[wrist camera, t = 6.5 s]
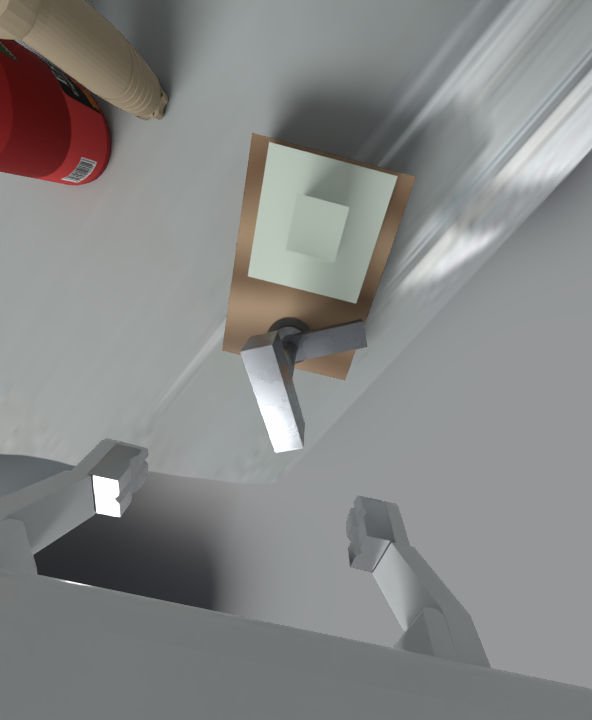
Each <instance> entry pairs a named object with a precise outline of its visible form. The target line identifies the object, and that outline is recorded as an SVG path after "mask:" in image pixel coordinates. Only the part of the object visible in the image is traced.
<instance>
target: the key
mask: <svg viewBox="0 0 592 720" xmlns="http://www.w3.org/2000/svg"><path fill="white" fill-rule="evenodd" d="M364 347H367V342H366V336H365V330H364V324H363V320H362V319H358V320H354V321H349V322H345V323H340V324H336V325H331V326H327V327H322V328H317V329H313V330H308V331H304V332H303V331H302V330H301V329H300V328H298V327H296V326H292V325H286V326H283V327H280V328H279V329H278V330H277V331H273V332H268V333H264V334H260V335H255V336H251V337H250V338H249V339H248V341H247V342H246V344H245V345H244V347H243V348H242V350H241V351H240V353H241V356H242V359H243V361H244V364H245V367H246V370H247V373H248V376H249V379H250V381H251V384H252V387H253V390H254V393H255V396H256V399H257V401H258V404H259V407H260V410H261V413H262V416H263V418H264V421H265V424H266V427H267V430H268V433H269V436H270V438H271V441H272V444H273V447H274V450H275V452H282V451H288V450H295V449H301V448H303V444H304V429H305V423H304V419H303V416H302V412H301V409H300V405H299V402H298V398H297V395H296V391H295V388H294V384H293V381H292V377H293V371H294V366H295V362H296V361H301V360H305V359H310V358H315V357H320V356H325V355H330V354H335V353H340V352H345V351H350V350H354V349H359V348H364Z"/></svg>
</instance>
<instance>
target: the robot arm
mask: <svg viewBox="0 0 592 720" xmlns="http://www.w3.org/2000/svg"><path fill="white" fill-rule="evenodd" d="M147 456H148V449H147V448H144V447H140V446H136V445H132V444H128V443H125V442H121V441H116V440H112V439H108V438H106V439H104V440H102V441H101V442H100V443H99V444H98V445H97V446H96V447H95V448H94V449H93V450H92V451H91V452H90V453H89V454H88V455H87V456H86V457H85V458H84V459H83V460H82V461H81V462H80V463H79V464H78V465H77V466H76V467H75V468H74V469H73V470H72V471H64V472H62V473H59V474H57V475H55V476H52V477H50V478H48V479H45V480H43V481H40V482H38V483H35V484H33V485H31V486H28V487H26V488H24V489H21V490H19V491H16V492H14V493H12V494H9V495H7V496H5V497H2V498H0V720H592V689H590V688H585V687H580V686H575V685H570V684H565V683H561V682H555V681H550V680H546V679H541V678H536V677H531V676H526V675H521V674H517V673H512V672H507V671H502V670H497V669H493V668H491V667H490V664H489V662H488V659H487V657H486V654H485V651H484V649H483V646H482V644H481V641H480V639H479V636H478V634H477V631H476V629H475V626H474V624H473V621H472V619H471V616H470V614H469V613H468V612H467V611H466V610H465V608H464V607H463V606H462V605H461V604H460V602H459V601H458V600H457V599H456V597H455V596H454V595H453V594H452V593H451V591H450V590H449V589H448V588H447V587H446V585H445V584H444V583H443V582H442V580H441V579H440V578H439V577H438V576H437V574H436V573H435V572H434V571H433V570H432V568H431V567H430V566H429V565H428V563H427V562H426V561H425V560H424V559H423V557H422V556H421V555H420V554H419V553H418V551H417V550H416V549H415V548H414V547H412V546H410V544H409V541H408V538H407V534H406V531H405V527H404V524H403V521H402V517H401V514H400V511H399V507H398V506H397V504H395V503H390V502H385V501H382V500H377V499H372V498H368V497H363V496H357V497H356V499H355V501H354V506H355V507H354V508H352V509H351V510H350V512H349V514H348V518H347V523H346V531H347V537H348V538H349V540H350V541H351V543H350V545H349V547H348V552H349V562H350V567H352V568H356V569H360V570H364V571H368V572H372V573H373V576H374V578H375V580H376V581H377V583H378V585H379V587H380V589H381V590H382V592H383V594H384V595H385V598H386V599H387V601H388V603H389V605H390V606H391V609H392V610H393V612H394V614H395V616H396V618H397V619H398V621H399V623H400V624H401V627H402V628H403V630H404V634H403V635H402V636H401V637H400V639H399V640H398V641H397V642H396V644H395V645H394V646H393V648H390V647H386V646H381V645H376V644H371V643H366V642H360V641H356V640H352V639H346V638H342V637H337V636H332V635H327V634H322V633H318V632H313V631H308V630H303V629H298V628H293V627H289V626H284V625H279V624H274V623H270V622H264V621H260V620H255V619H250V618H245V617H241V616H236V615H231V614H226V613H221V612H216V611H212V610H207V609H201V608H197V607H192V606H187V605H182V604H178V603H173V602H168V601H163V600H158V599H153V598H148V597H144V596H139V595H134V594H128V593H124V592H119V591H114V590H110V589H105V588H100V587H95V586H90V585H85V584H80V583H76V582H71V581H66V580H61V579H56V578H51V577H46V576H41V575H37V568H36V564H35V561H34V557H33V554H35V553H37V552H38V551H40V550H41V549H43V548H44V547H46V546H47V545H48V544H50V543H52V542H53V541H55V540H56V539H58V538H59V537H61V536H63V535H64V534H66V533H67V532H69V531H70V530H72V529H73V528H75V527H76V526H78V525H79V524H81V523H82V522H84V521H85V520H87V519H88V518H90V517H92V516H93V515H94V514H95V513H100V514H105V515H110V516H116V517H120V516H121V515H122V513H123V512H124V511H125V509H126V508H127V506H128V505H129V503H130V502H131V494H132V493H134V492H136V491H138V490H139V489H140V487H141V486H142V484H143V482H144V480H145V478H146V475H147V471H148V463H147V462H146V461H145V459H146V458H147Z"/></svg>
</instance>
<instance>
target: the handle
mask: <svg viewBox="0 0 592 720" xmlns="http://www.w3.org/2000/svg"><path fill="white" fill-rule="evenodd" d="M0 39H9V40H22V41H23V42H25V43H26V44H27V45H29V46H30V47H31V48H33V49H34V50H36V51H37V52H38V53H40V54H41V55H42V56H44V57H45V58H47V59H48V60H49V61H51V62H52V63H53V64H55V65H56V66H58V67H59V68H60V69H62V70H63V71H64V72H66V73H67V74H68V75H70V76H71V77H72V78H74V79H75V80H77V81H78V82H79V83H81V84H82V85H83V86H85V87H86V88H87V89H89V90H90V91H91V92H93V93H94V94H96V95H98V96H99V97H101V98H103V99H104V100H106V101H107V102H109V103H111V104H113V105H114V106H116V107H118V108H120V109H122V110H124V111H126V112H128V113H131V114H133V115H135V116H136V117H138V118H140V119H143V120H148V119H149V118H157V119H159V120H160V119H161V118H162V117H163V116H164V115H163V111H164V107H165V105H166V104H167V103H168V97H167V95H166V93H165V92H164V91H163V90H162V88H161V87H160V84H159V79H158V77H157V76H156V75H155V73H154V72H153V71H152V69H151V68H150V67H149V66H148V64H147V63H146V62H145V60H144V59H143V58H142V57H141V55H140V54H139V53H138V52H137V51H136V49H135V48H134V47H133V46H132V45H131V44H130V43H129V42H128V41H127V39H126V38H125V37H124V36H123V35H122V34H121V33H120V32H119V31H118V30H117V29H116V28H115V27H114V26H113V25H112V24H111V23H110V22H109V21H107V20H106V19H105V18H104V17H103V16H102V15H101V14H100V13H99V12H97V11H96V10H95V9H94V8H93V7H92V6H91V5H90V4H88V3H87V2H86V1H85V0H0Z"/></svg>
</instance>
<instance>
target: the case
mask: <svg viewBox="0 0 592 720" xmlns="http://www.w3.org/2000/svg"><path fill="white" fill-rule="evenodd" d="M269 142H271V143H275V144H279V145H282V146H286V147H290V148H294V149H297V150H301V151H305V152H309V153H312V154H316V155H320V156H323V157H327V158H331V159H335V160H338V161H342V162H346V163H350V164H353V165H357V166H361V167H365V168H368V169H372V170H376V171H379V172H383V173H387V174H391V175H394V176H398V177H397V180H396V183H395V186H394V189H393V192H392V195H391V198H390V201H389V204H388V207H387V210H386V213H385V217H384V220H383V223H382V226H381V229H380V232H379V235H378V238H377V241H376V244H375V247H374V250H373V253H372V256H371V260H370V263H369V266H368V269H367V272H366V275H365V278H364V281H363V284H362V287H361V290H360V293H359V296H358V299H357V303H352V302H348V301H344V300H340V299H336V298H332V297H328V296H324V295H320V294H316V293H312V292H308V291H304V290H300V289H296V288H292V287H288V286H285V285H281V284H277V283H273V282H269V281H265V280H261V279H257V278H253V277H249V276H248V271H249V265H250V259H251V252H252V246H253V240H254V234H255V227H256V221H257V215H258V209H259V202H260V196H261V190H262V184H263V178H264V171H265V165H266V159H267V153H268V146H269ZM415 178H416V177H415V176H411V175H407V174H403V173H400V172H396V171H392V170H389V169H385V168H381V167H377V166H374V165H370V164H366V163H362V162H359V161H355V160H351V159H348V158H344V157H340V156H336V155H333V154H329V153H325V152H322V151H318V150H314V149H310V148H307V147H303V146H299V145H295V144H292V143H288V142H284V141H281V140H277V139H273V138H269V137H266V136H262V135H258V134H254V133H252V139H251V147H250V154H249V161H248V168H247V175H246V183H245V190H244V197H243V204H242V211H241V219H240V226H239V233H238V240H237V247H236V255H235V262H234V269H233V276H232V283H231V291H230V298H229V305H228V312H227V319H226V326H225V334H224V341H223V348H222V351H227V352H231V353H235V354H239V355H241V353H240V351H241V350H242V348H243V347H244V345H245V344H246V342H247V341H248V339H249V338H250V337H251V336H255V335H260V334H264V333H268V332H273V331H277V330H278V329H279V328H280V327H283V326H286V325H292V326H296V327H298V328H300V329H301V330H302V331H303V332H304V331H308V330H313V329H317V328H322V327H327V326H331V325H336V324H340V323H345V322H349V321H354V320H358V319H362V320H363V324H364V325H365V322H366V319H367V316H368V313H369V310H370V307H371V305H372V302H373V299H374V296H375V293H376V290H377V287H378V284H379V282H380V279H381V276H382V273H383V270H384V267H385V264H386V262H387V259H388V256H389V253H390V250H391V247H392V244H393V241H394V239H395V236H396V233H397V230H398V227H399V224H400V221H401V219H402V216H403V213H404V210H405V207H406V204H407V201H408V198H409V196H410V193H411V190H412V187H413V184H414V181H415ZM355 350H356V349H354V350H350V351H345V352H340V353H335V354H330V355H325V356H320V357H315V358H310V359H305V360H301V361H296V362H295V366H294V368H296V369H300V370H305V371H309V372H313V373H317V374H321V375H325V376H329V377H333V378H337V379H342V380H345V379H346V376H347V373H348V371H349V368H350V365H351V362H352V359H353V356H354V353H355Z"/></svg>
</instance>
